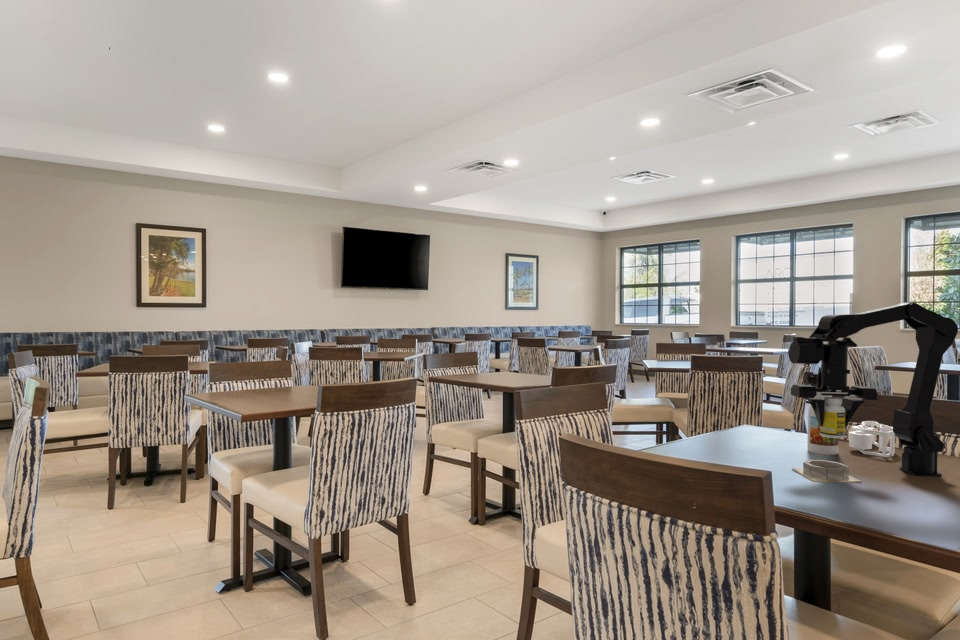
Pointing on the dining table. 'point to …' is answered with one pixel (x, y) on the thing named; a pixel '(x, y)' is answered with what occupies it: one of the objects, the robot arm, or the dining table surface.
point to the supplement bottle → (833, 418)
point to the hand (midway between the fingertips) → (832, 426)
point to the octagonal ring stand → (826, 471)
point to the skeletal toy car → (872, 438)
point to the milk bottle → (819, 436)
